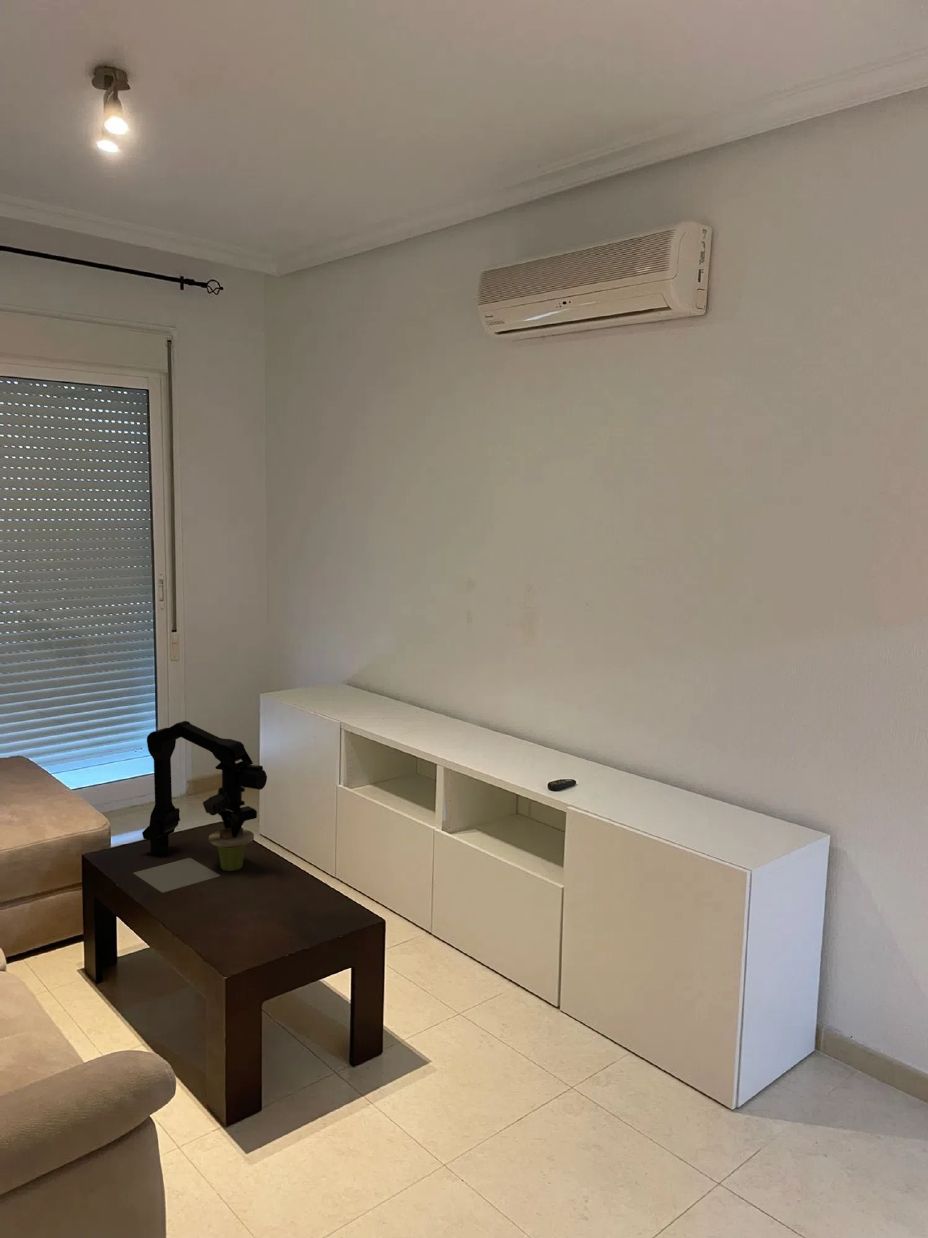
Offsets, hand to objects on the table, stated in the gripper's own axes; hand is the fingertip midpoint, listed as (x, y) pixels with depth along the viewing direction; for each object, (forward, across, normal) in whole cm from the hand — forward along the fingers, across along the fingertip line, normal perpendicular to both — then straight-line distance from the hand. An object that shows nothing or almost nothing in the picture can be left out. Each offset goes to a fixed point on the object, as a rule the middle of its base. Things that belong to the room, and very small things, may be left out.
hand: (231, 835), depth 268 cm
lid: (+1, 0, 0) cm, 1 cm away
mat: (+10, -5, -15) cm, 19 cm away
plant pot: (+11, 0, 0) cm, 11 cm away
